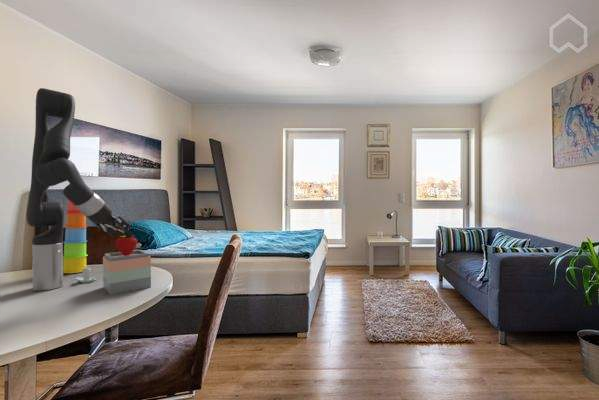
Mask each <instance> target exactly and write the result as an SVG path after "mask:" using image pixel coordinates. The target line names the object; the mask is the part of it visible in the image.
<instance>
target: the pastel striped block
mask: <svg viewBox="0 0 599 400" xmlns="http://www.w3.org/2000/svg"><path fill="white" fill-rule="evenodd" d="M151 257H152V256H151V255H150V252H149V253H148V252H147V251H145V250H142V249H134V250H133V251H132V253H131V254H130V255H127V256H124V255H123V254H122V253H121V252H120V251H117V252H108V253H104V256H102V282H103V283H102V286H103V289H104V290H105V291H106V292H107V293H108V294H109V295H115V294H121V293H127V292H131V291H132V292H133V291H137V290H142V289H147V288H148V287H149V288H152V265H151V263H152V261H151V260H152V259H151Z"/></svg>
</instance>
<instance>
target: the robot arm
mask: <svg viewBox="0 0 599 400" xmlns="http://www.w3.org/2000/svg"><path fill="white" fill-rule="evenodd" d="M35 96H36V97H35V125H34V126H35V127H34V128H35V131H34V142H33V150H32V159H31V179H30V188H29V189H30V191H29V194H28V201H27V208H26V215H25V216H26V222H27V225H28V226H30V227H34V228H35V227H47V226H48V227H49V229H48V230H46V231H45V232H42V233H40V234H37V235H35V236H33V237H32V240H31V241H32V242H31V243H32V244H31V246H32V265H31V266H32V292H35V291H36V292H37V291H49V290H53V289H54V290H55V289H58V288H61V287H63V286H64V273H63V260H64V258H63V256H64V250H63V249H64V247H63V246H64V245H63V244H64V240H63V239H64V218H65V210H64V205H63V204H62V203H61V202H59V201H50V202H49V201H43V197H44V195H45V193H46V192H47V191H48V189H49V188H50V187H53V186H56V185H60V184H62V183H64V182H68V183H69V184H67V186H66V187H64V189H63V191H62V194H63V196H64V197H65V199H66V198H67V201H68V200H70V201H71V202H72V203H73V204H74V205H75V206H76V207H77V208H78V210H79V211H80V212H81V213H83V214H84V215H85V216H86V219H88V220H89V221H90V222H91V223H92V224H93V225H95V226H96V227H97V229H99V230H100V231H104V232H106V233H108V234H109V236H111V237H112V238H116V237H117V235H118V234H119V233H118V231H119V232H121V233H122V234H123V236H126V237H127V238H131V237H132V236H133V237H134V233H133V232H132V231H131V230H130V228H131V225H130V224H129V223H128V222H127V221H125V219H124V218H123V217H122V216H120V215H119V216H117V217H116V216H114V215H113V209H112V208H111V207H110V206H109V205H108V204H107V202H105V201H104V199H102V198H101V197H100V196H99V195H98V194H97V193H95V192H94V191H93V190H92V189H91V188H90V187H89V186H88V185H87V184H86V183H85V181H84V179H83V178H82V176H81V174H80V172H79V170H78V168H77V166H76V164H75V163H74V162H72V160H70V156H71V136H72V131H73V125H74V119H75V111H76V100H75V98H74V96H73V95H72V94H69V93H67V92H66V93H65V92H61V91H58V90H53V89H48V88H44V87H41V88H39V89H37V92H36V95H35ZM47 117H53V118H58V119H61V120H60V121H59V122H58V123H56V125H54V126H53V127H51V128H50V125H49V124H48V120H47ZM42 201H43V202H42ZM133 237H132V238H133Z"/></svg>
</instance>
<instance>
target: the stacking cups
mask: <svg viewBox="0 0 599 400" xmlns="http://www.w3.org/2000/svg"><path fill="white" fill-rule="evenodd" d="M66 210H67V212H66V219H65V221H66V223H65V226H64V228H65V235H64V240H63V244H64V245H63V246H64V247H63V249H64V250H63V274H78V273H82V270H83V269H84V268H87V257H88V256H89V255H88V254H87V242H88V240H87V228H88V226H87V217H86V216H85V215H84V214H83V213H81V212H80V211H79V210H78V208H77V207H76V206H75V205H74V204H73V203H72V202H71V201H70V200H68V199H67V209H66Z"/></svg>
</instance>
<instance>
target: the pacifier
mask: <svg viewBox="0 0 599 400" xmlns="http://www.w3.org/2000/svg"><path fill="white" fill-rule="evenodd" d="M81 273H82V274H83V277H79V276H78V277H75V280H76V281H77V282H78V283H81V284H82V283H83V284H85V283H92V282H94V281H96V280H97V277H98V275H94V276H91V273H92V270H91V268H90V267H86V268H84V269H83V270H82V272H81Z"/></svg>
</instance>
